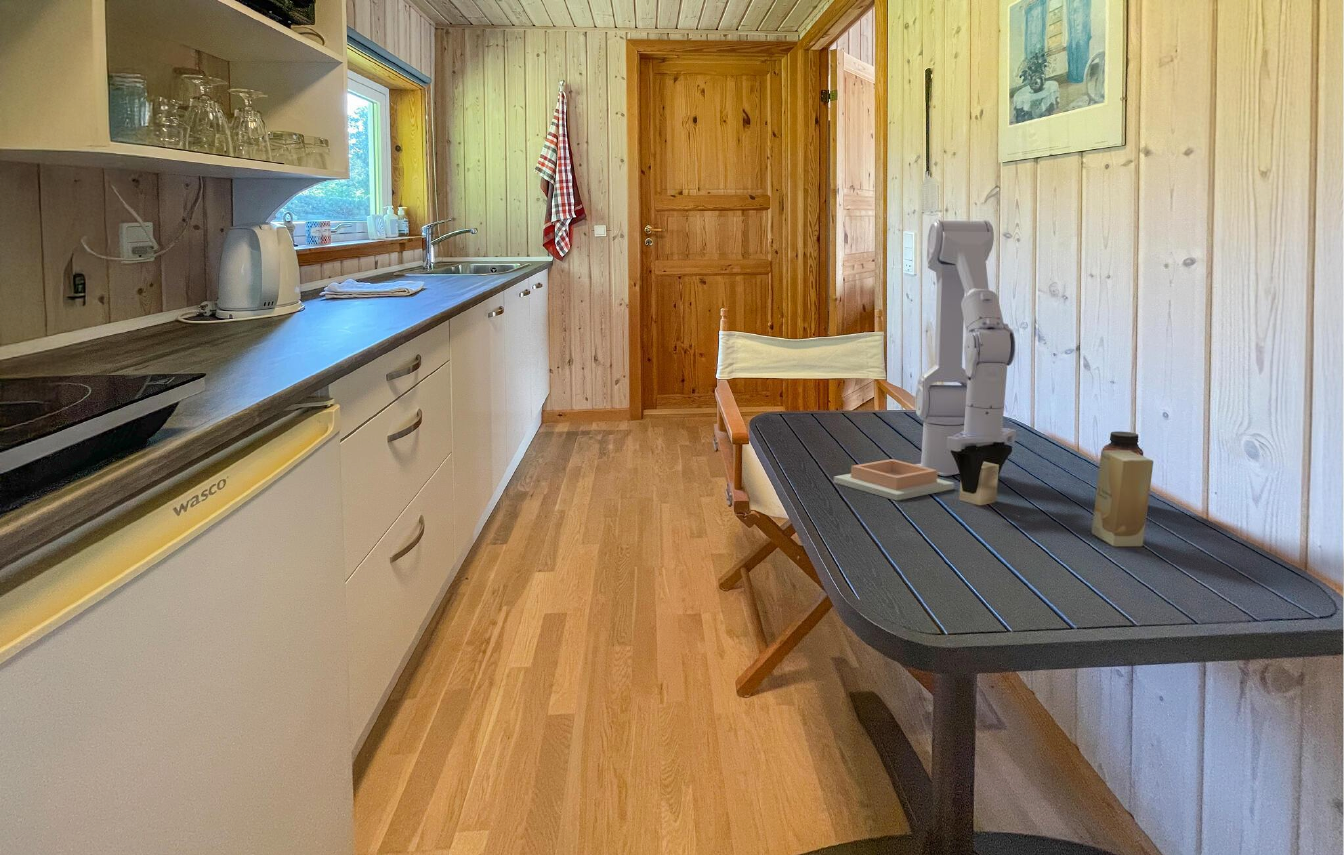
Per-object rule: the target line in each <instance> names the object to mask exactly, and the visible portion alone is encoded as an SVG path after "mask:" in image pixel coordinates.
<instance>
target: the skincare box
mask: <svg viewBox="0 0 1344 855" xmlns="http://www.w3.org/2000/svg"><path fill="white" fill-rule="evenodd" d="M1099 460H1100V461H1099V468H1098V477H1097V486H1096V493H1095V494H1096V495H1095V501H1094V510H1093V519H1092V526H1091V533H1092V534H1093V535H1094V536H1095V537H1097V538H1099V539H1101V540H1103V541H1104V542H1106V543H1108V544H1109V545H1111V546H1112V547H1142V546H1143V545H1144V536H1145V531H1146V530H1145V529H1146V522H1147V514H1148V506H1149V498H1150V492H1151V483H1152V476H1153V467H1154V460H1153V459H1150V458H1148V457H1146V456H1144V455H1143V456H1142V455H1140V454H1136V453H1134V452H1132V451H1129V450H1106V451H1102V450H1100V458H1099Z"/></svg>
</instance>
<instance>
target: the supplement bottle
mask: <svg viewBox="0 0 1344 855" xmlns="http://www.w3.org/2000/svg"><path fill="white" fill-rule="evenodd" d="M1109 437H1110V438H1109V442H1110V443H1107V444H1106V445H1104V446H1103V448H1102V450H1101V451H1106V450H1129V451H1132V452H1134V453H1136V454H1140V455H1142V456H1144V451H1143V449H1142V448H1141V447H1140V446H1139V434H1137V433H1135V432H1131V431H1122V430H1121V431H1112V432H1110V435H1109Z"/></svg>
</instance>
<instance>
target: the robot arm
mask: <svg viewBox="0 0 1344 855" xmlns="http://www.w3.org/2000/svg"><path fill="white" fill-rule="evenodd" d="M994 231H995V230H994V227H993V225H992V224H991V222H990V221H989V220H982V221H981V220H941V219H935V220H933V222H932V223H931V224H930V227H929V229H928V233H927V234H928V235H927V239H926V240H927V244H926V245H927V247H926V248H927V250H926V262H927V269H929V270H931V271H933V272H934V273H935V278H936V300H935V301H936V303H935V330H934V331H935V333H934V334H935V336H934V359H933V360H934V364H933V366H931V367H930V368H929V369H928V370H926V371H925V372H923V373H921V375H920V376H919V378H918V380H917V384H916V385H917V387H916V392H915V395H914V396H915V397H914V408H915V413H916V415H917V417H918V418H919V419H920V420H922V421H923V426H922V427H923V428H922V442H921V443H922V445H921V460H920V463H914V465H918V466H922V467H926V468H930V469H934V470H938V472H937V476H942V477H950V476H953V475H958V474H959V478H960V481H961V484H962V489H963V491H964V492H968V493H972V494H974V493H976V491H977V487H978V482H979V475H980V471H981V467H982V465H983V462H988V463H992V464H997V465H999V471H998V477H999V476H1000V474H1001V470H1002V469H1003V467H1004V465H1005V463H1006V462H1007V459H1008V458H1009V457H1010V455H1011V453H1012V452H1013V445H1009V444H1005V443H1007V442H1009V443H1013V442H1014V443H1015V442H1016V436H1017V430H1016V429H1013V428H1008V427H1003V425H1004V424H1003V423H1004V413H1005V412H1004V411H1005V410H1004V409H1005V400H1006V399H1005V398H1006V387H1007V386H1006V385H1007V376H1008V375H1007V374H1008V367H1010V366H1011V364H1013V361H1014V359H1015V354H1016V337H1015V332H1014V330H1013V329H1012V328H1010V327H1009V324H1008V323H1006V322H1004V318H1003V314H1002V310H1001V304H1000V301H999V296H998V295H997V294H996V292H994V291H993V290H990V287H989V280H988V269H987V261H988V259H989V256H990V254H991V252H992V251H993V250H992V249H993V246H994V241H995V240H994V239H995V234H994ZM964 326H965V331H966V337H965V340H964ZM963 347H964V348H963ZM963 352H964V362H965V363H964V364H965V367H963ZM964 368H965V369H964ZM934 383H958V384H934Z"/></svg>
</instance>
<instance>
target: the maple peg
mask: <svg viewBox="0 0 1344 855" xmlns="http://www.w3.org/2000/svg"><path fill="white" fill-rule="evenodd" d="M998 471H999V465H997V464H992V463H988V462H983V465H982V467H981V471H980V475H979V482H978V487H977V491H976V493H974V494H972V493H968V492H964V491H963V489H962V484H961V480H960V483H959V495H958V496H959V497H958V498H959V499H958V501H962V502H966V503H970V504H973V505H977V506H984V505H988V504H992V503H996V502H997V496H998V495H997V494H998V481H999V476H998Z"/></svg>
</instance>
